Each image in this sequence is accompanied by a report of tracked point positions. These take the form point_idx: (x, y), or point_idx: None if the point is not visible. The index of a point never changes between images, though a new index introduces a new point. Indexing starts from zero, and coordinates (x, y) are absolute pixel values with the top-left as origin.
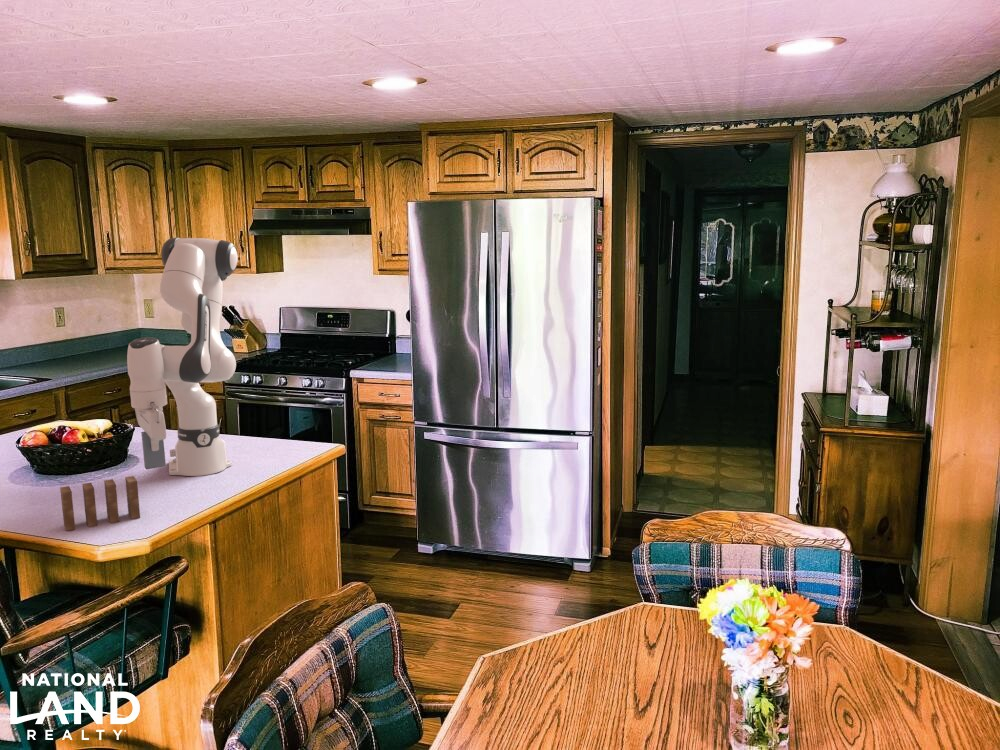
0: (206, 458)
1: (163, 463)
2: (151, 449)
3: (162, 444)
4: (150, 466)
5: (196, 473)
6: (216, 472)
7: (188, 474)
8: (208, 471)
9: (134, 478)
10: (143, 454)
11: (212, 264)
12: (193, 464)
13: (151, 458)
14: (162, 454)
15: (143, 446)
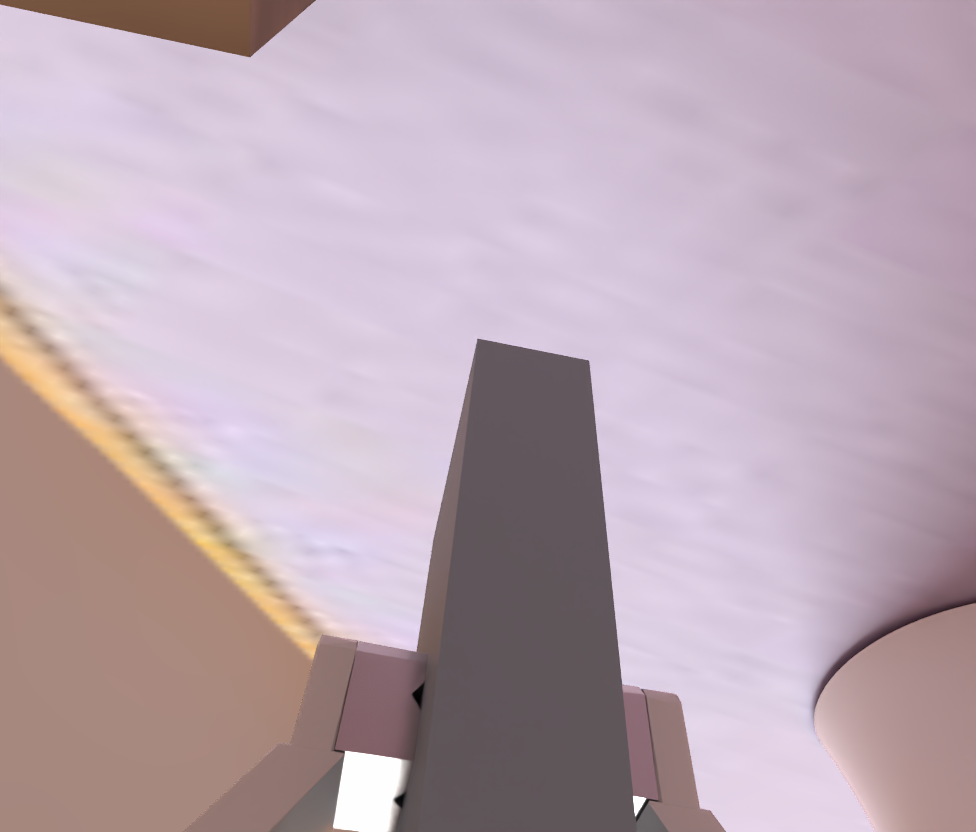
0: (888, 792)
1: (433, 553)
2: (369, 652)
3: None
4: (462, 412)
5: (884, 656)
6: (815, 719)
7: (936, 624)
8: (836, 704)
9: (64, 3)
10: (602, 502)
11: None
12: (939, 710)
13: (446, 514)
14: None
15: (503, 637)
